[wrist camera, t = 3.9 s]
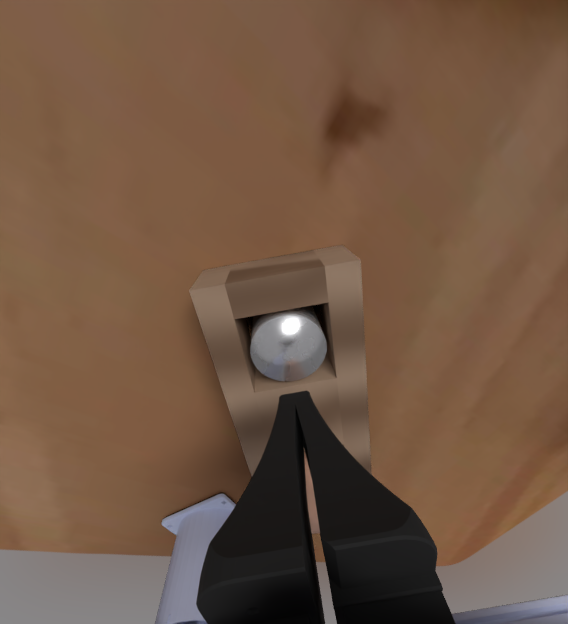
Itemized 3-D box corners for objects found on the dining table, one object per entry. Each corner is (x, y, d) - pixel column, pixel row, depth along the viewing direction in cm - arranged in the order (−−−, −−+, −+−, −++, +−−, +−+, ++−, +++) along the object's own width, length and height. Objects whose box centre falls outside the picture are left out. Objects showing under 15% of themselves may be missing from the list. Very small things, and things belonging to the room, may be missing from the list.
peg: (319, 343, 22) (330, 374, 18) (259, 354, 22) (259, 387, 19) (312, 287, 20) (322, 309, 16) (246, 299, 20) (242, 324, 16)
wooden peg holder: (358, 460, 28) (372, 501, 25) (265, 476, 28) (265, 519, 25) (342, 244, 19) (360, 259, 15) (203, 270, 19) (189, 290, 15)
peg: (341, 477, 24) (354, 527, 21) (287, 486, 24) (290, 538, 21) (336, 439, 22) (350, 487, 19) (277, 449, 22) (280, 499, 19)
